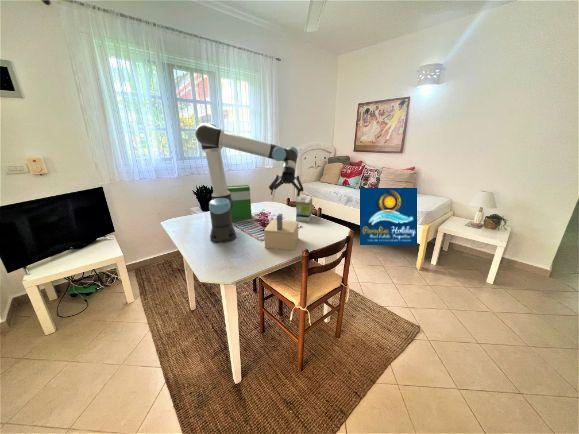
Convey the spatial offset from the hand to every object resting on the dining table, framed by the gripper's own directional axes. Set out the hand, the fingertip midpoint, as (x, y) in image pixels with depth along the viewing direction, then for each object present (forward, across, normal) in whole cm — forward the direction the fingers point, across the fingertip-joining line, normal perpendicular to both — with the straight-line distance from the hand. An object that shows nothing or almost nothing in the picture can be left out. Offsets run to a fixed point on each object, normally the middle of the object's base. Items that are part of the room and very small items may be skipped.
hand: (284, 200), depth 128 cm
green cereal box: (-3, +41, -37) cm, 56 cm away
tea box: (-10, -7, -43) cm, 45 cm away
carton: (+21, 0, -12) cm, 24 cm away
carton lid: (+14, 0, -6) cm, 15 cm away
